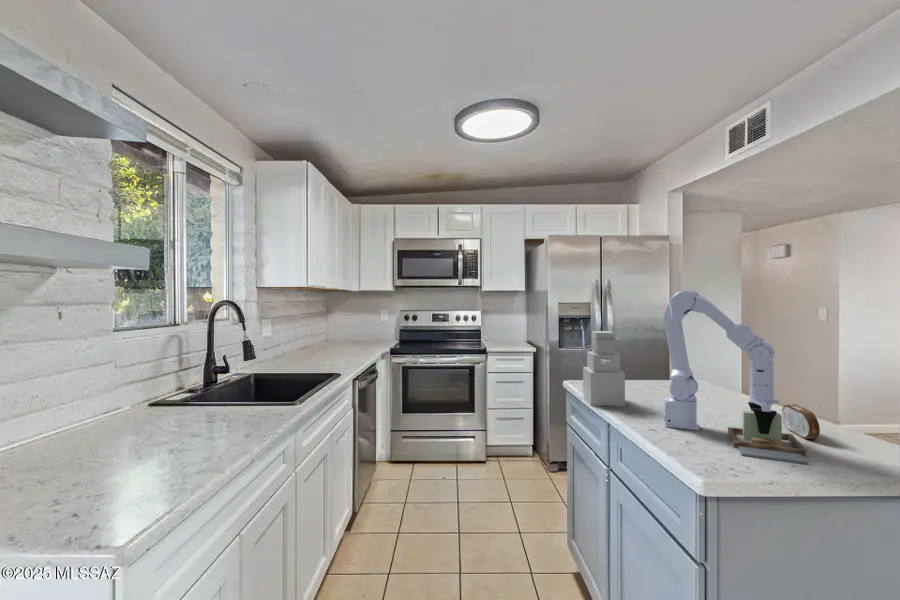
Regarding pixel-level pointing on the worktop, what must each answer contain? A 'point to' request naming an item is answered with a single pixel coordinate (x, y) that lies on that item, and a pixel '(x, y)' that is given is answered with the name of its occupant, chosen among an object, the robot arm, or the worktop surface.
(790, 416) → the tin
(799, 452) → the brown flat square frame
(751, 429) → the board
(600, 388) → the stacked tiered boxes
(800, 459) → the slate mat
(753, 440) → the offcut stack
